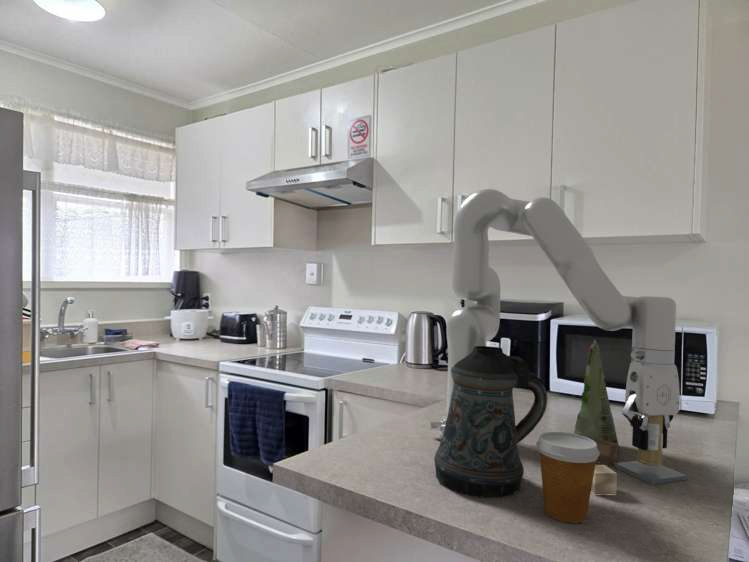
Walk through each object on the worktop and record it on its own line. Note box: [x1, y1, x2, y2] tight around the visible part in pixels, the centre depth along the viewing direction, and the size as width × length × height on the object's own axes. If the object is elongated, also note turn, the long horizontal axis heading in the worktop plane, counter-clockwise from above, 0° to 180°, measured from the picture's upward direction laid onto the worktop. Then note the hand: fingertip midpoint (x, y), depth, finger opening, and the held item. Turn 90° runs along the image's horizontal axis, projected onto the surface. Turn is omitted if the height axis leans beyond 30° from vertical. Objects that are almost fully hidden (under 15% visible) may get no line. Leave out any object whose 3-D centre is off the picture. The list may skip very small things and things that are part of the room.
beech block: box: [591, 464, 618, 496], centre depth 88 cm, size 4×4×4 cm
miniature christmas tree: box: [573, 339, 620, 453], centre depth 113 cm, size 11×12×25 cm
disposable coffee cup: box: [536, 431, 600, 524], centre depth 78 cm, size 10×10×12 cm
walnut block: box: [594, 439, 618, 467], centre depth 103 cm, size 4×4×4 cm
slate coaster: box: [614, 460, 688, 485], centre depth 97 cm, size 9×9×1 cm
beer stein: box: [433, 345, 548, 499], centre depth 91 cm, size 16×19×25 cm
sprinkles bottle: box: [636, 416, 663, 466], centre depth 97 cm, size 5×5×13 cm
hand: (649, 446), depth 97 cm, fingers closed on sprinkles bottle, 4 cm apart
